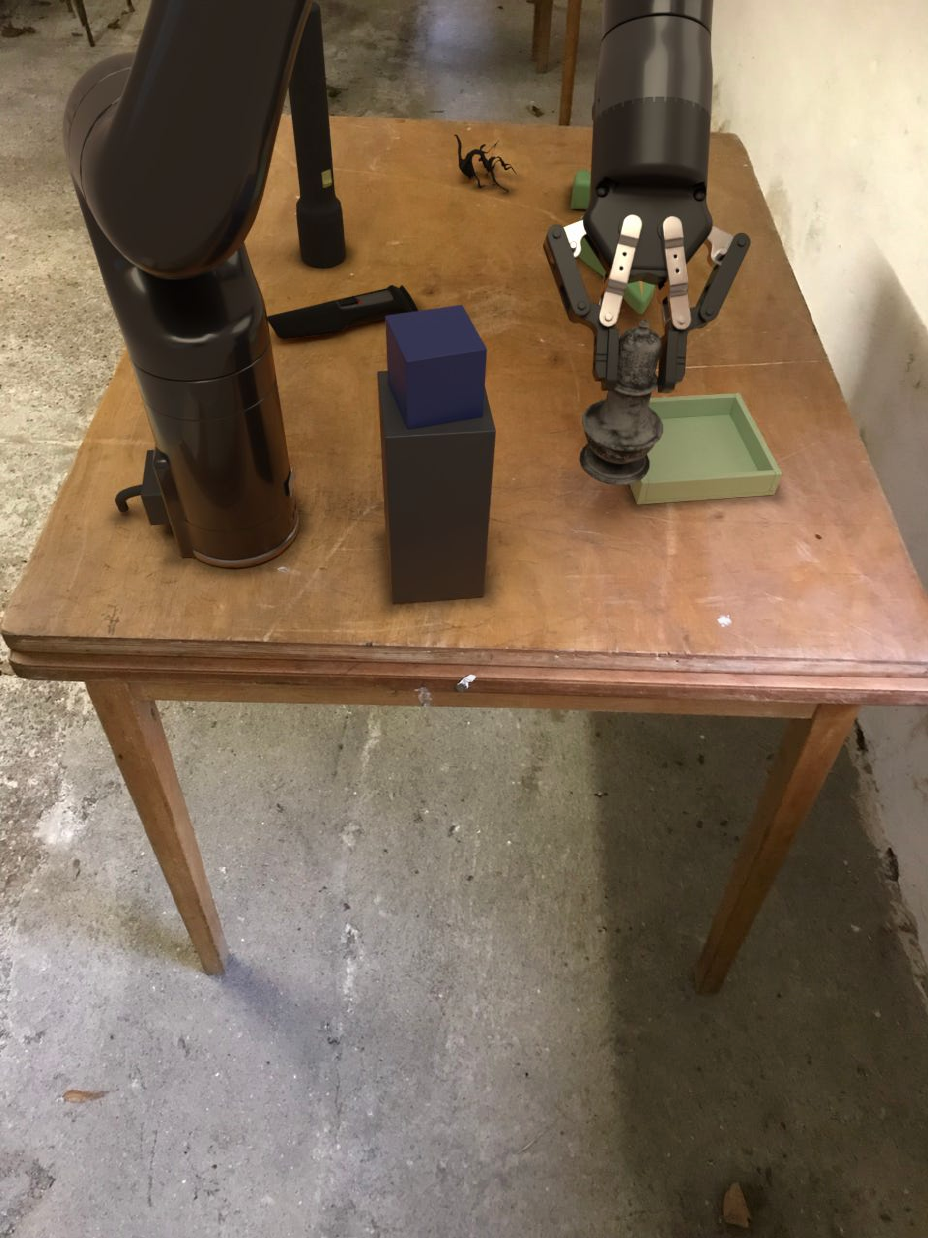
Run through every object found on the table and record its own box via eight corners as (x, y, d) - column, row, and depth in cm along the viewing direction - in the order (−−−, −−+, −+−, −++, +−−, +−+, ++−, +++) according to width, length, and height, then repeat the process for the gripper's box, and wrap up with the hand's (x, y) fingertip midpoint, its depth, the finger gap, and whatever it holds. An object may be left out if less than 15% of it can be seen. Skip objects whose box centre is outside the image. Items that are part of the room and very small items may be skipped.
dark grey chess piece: (657, 489, 65) (697, 347, 56) (577, 486, 65) (603, 343, 56) (649, 437, 69) (684, 295, 60) (573, 434, 69) (596, 291, 60)
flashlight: (291, 255, 100) (320, 273, 98) (260, 3, 81) (295, 17, 79) (326, 240, 102) (355, 256, 100) (303, -9, 83) (338, 5, 81)
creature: (501, 172, 117) (444, 165, 114) (512, 129, 113) (454, 120, 110) (522, 200, 112) (463, 193, 109) (534, 156, 108) (474, 147, 105)
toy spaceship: (686, 338, 92) (703, 271, 86) (584, 333, 92) (594, 266, 86) (652, 191, 112) (664, 129, 107) (568, 187, 112) (576, 125, 106)
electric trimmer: (265, 334, 90) (260, 305, 88) (407, 301, 95) (406, 273, 92) (276, 354, 88) (271, 326, 86) (421, 319, 92) (421, 291, 90)
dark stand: (392, 604, 68) (385, 437, 56) (385, 538, 72) (377, 370, 60) (483, 597, 69) (496, 430, 56) (471, 532, 73) (480, 365, 61)
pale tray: (636, 504, 76) (642, 483, 74) (606, 421, 83) (610, 399, 81) (774, 495, 77) (782, 473, 75) (732, 413, 84) (739, 392, 82)
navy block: (407, 430, 56) (406, 361, 52) (387, 383, 59) (385, 315, 55) (483, 416, 57) (487, 348, 53) (459, 371, 60) (462, 304, 56)
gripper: (549, 85, 54) (538, 377, 56) (780, 96, 55) (762, 385, 56) (536, 139, 62) (527, 395, 63) (739, 148, 62) (724, 402, 64)
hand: (637, 388), depth 60 cm, fingers closed on dark grey chess piece, 3 cm apart
